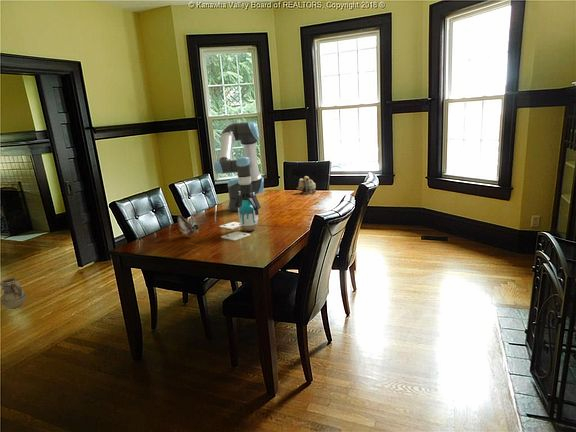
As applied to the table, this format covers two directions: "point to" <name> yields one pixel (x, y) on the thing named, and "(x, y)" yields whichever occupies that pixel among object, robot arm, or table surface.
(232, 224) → the three dot mat
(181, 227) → the decorative duck model
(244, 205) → the vase
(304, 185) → the owl figurine
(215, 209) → the table surface
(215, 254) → the table surface
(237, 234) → the two dot mat
